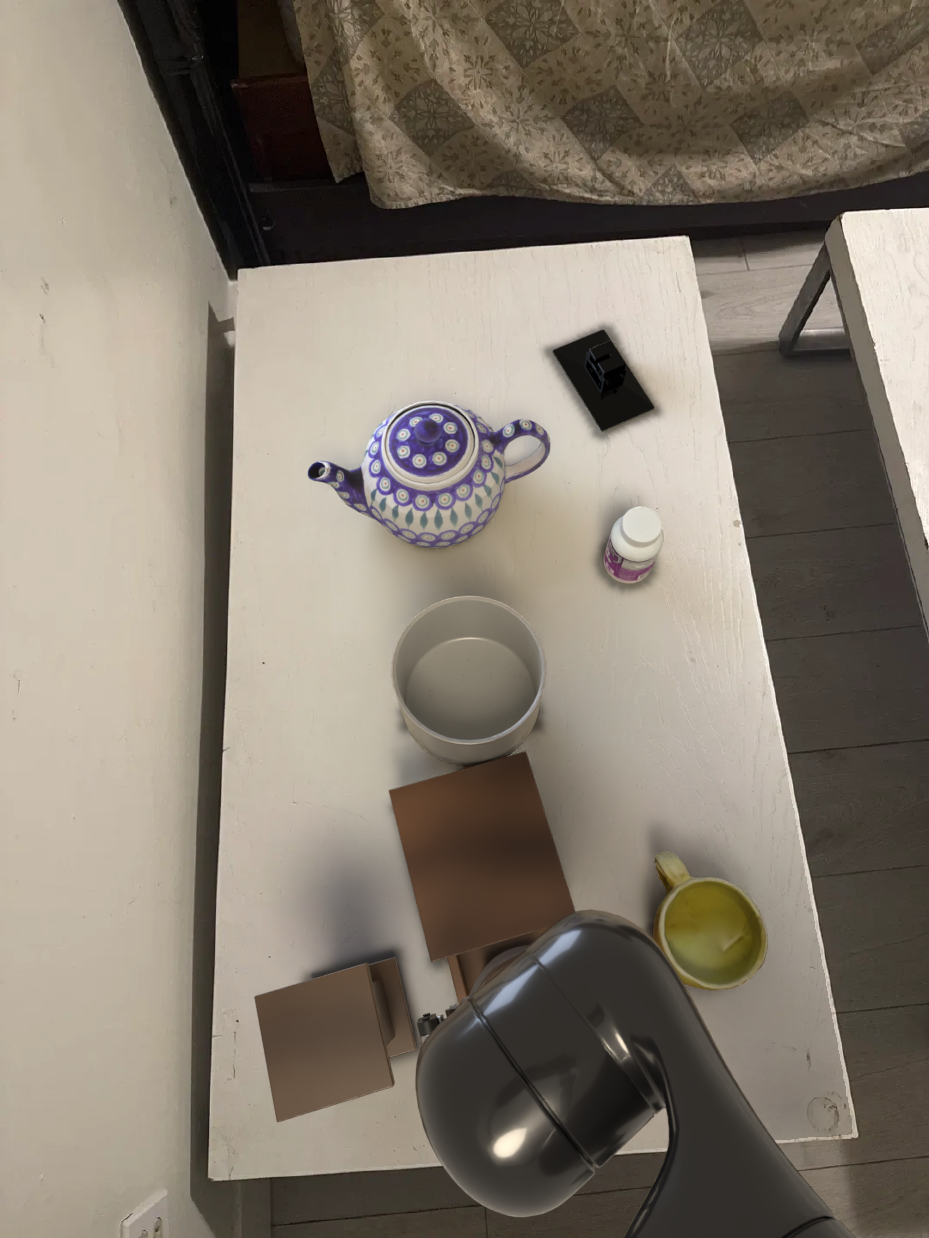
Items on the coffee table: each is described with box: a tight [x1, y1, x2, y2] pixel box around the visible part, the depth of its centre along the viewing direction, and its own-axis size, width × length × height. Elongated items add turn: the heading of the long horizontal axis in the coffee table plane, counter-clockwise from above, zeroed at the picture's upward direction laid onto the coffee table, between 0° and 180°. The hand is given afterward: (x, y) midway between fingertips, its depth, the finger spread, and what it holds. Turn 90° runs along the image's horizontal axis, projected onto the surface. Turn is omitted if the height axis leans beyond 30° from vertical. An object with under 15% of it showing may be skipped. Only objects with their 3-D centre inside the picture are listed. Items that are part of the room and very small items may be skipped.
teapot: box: [307, 399, 551, 549], centre depth 91 cm, size 25×15×15 cm, turn 99°
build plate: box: [552, 329, 655, 433], centre depth 101 cm, size 12×7×5 cm, turn 25°
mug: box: [652, 850, 769, 991], centre depth 78 cm, size 12×10×10 cm
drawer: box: [446, 927, 549, 1005], centre depth 75 cm, size 18×11×9 cm, turn 16°
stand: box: [254, 956, 418, 1123], centre depth 70 cm, size 8×8×22 cm
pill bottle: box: [603, 505, 665, 584], centre depth 90 cm, size 5×5×10 cm
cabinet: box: [388, 751, 576, 963], centre depth 79 cm, size 15×13×11 cm
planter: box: [390, 595, 548, 769], centre depth 81 cm, size 13×13×18 cm
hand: (524, 1001), depth 62 cm, fingers open, 8 cm apart
